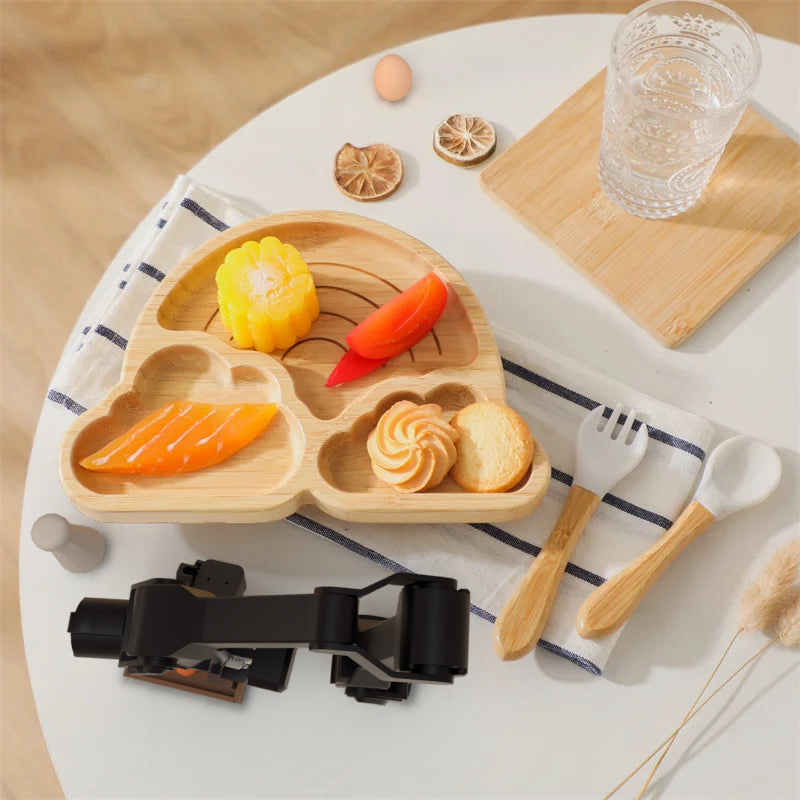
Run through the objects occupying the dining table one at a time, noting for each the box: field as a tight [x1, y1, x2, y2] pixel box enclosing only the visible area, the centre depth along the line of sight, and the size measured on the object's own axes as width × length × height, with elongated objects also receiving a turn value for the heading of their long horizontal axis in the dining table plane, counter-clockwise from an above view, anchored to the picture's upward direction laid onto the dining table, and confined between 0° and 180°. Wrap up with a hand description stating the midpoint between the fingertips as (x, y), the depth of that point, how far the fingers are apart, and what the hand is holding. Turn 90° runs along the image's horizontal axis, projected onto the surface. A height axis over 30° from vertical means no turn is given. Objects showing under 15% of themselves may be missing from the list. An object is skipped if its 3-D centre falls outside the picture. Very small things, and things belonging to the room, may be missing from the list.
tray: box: [122, 668, 248, 705], centre depth 109 cm, size 14×10×2 cm
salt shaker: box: [30, 513, 106, 574], centre depth 109 cm, size 6×6×13 cm
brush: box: [207, 665, 237, 689], centre depth 105 cm, size 3×7×7 cm, turn 167°
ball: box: [176, 668, 198, 676], centre depth 107 cm, size 3×3×3 cm
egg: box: [372, 53, 413, 102], centre depth 135 cm, size 6×6×8 cm
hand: (225, 652), depth 105 cm, fingers closed on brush, 2 cm apart
